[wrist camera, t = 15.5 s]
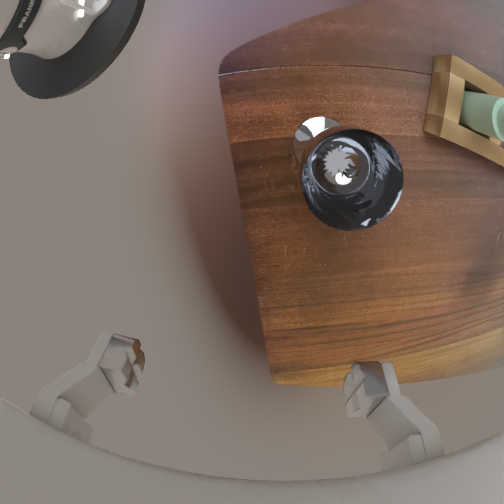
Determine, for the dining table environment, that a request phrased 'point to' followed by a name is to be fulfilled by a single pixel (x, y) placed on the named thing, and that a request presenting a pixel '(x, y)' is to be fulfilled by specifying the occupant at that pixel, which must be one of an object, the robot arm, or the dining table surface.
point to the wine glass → (347, 173)
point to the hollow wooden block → (459, 105)
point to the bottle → (483, 114)
